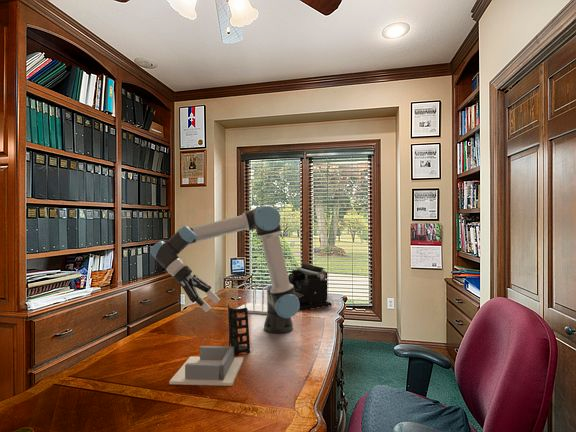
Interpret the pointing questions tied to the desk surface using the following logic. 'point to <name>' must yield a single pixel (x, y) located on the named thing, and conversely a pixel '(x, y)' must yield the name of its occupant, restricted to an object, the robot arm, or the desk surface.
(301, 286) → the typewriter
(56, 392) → the desk surface
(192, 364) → the bay
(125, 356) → the desk surface
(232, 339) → the holder
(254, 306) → the file sorter
